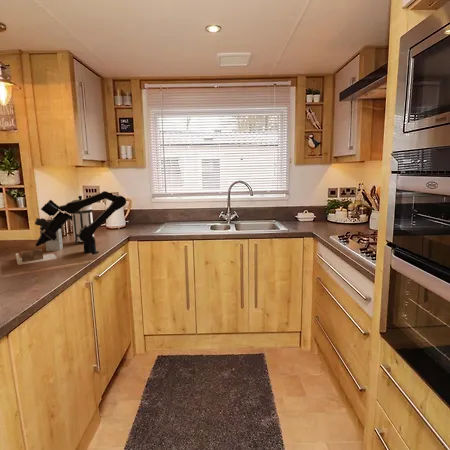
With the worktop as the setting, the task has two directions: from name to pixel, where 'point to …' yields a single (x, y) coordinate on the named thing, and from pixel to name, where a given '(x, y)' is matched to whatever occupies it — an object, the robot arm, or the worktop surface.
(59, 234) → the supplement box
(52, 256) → the white shallow tray
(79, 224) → the coffee press
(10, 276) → the worktop surface
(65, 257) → the worktop surface
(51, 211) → the robot arm
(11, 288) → the worktop surface
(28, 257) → the block
